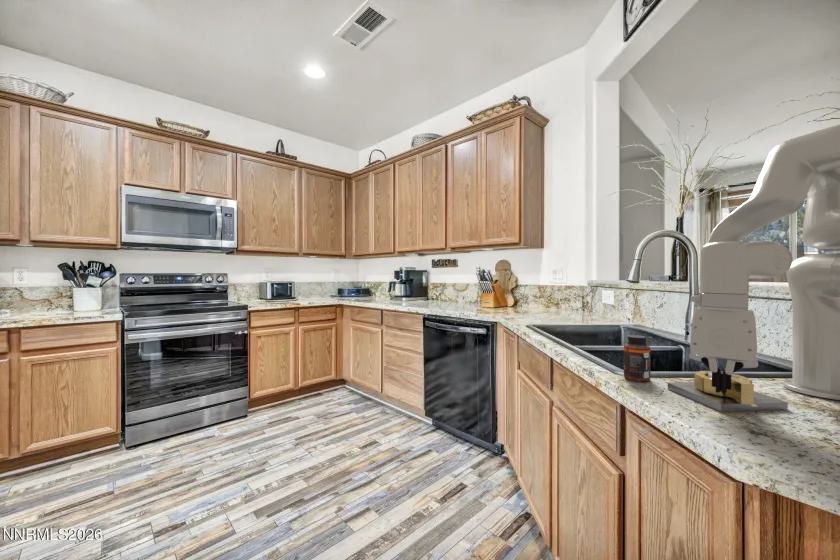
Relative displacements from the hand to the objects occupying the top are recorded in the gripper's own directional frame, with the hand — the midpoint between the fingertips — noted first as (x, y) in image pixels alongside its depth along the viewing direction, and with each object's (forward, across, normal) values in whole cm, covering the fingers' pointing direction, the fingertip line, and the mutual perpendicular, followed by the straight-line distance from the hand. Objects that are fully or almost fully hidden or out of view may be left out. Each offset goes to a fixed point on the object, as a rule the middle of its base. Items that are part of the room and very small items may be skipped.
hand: (721, 391), depth 71 cm
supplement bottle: (+4, -17, +11) cm, 21 cm away
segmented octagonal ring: (+1, +1, +5) cm, 5 cm away
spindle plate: (+3, 0, +7) cm, 8 cm away
